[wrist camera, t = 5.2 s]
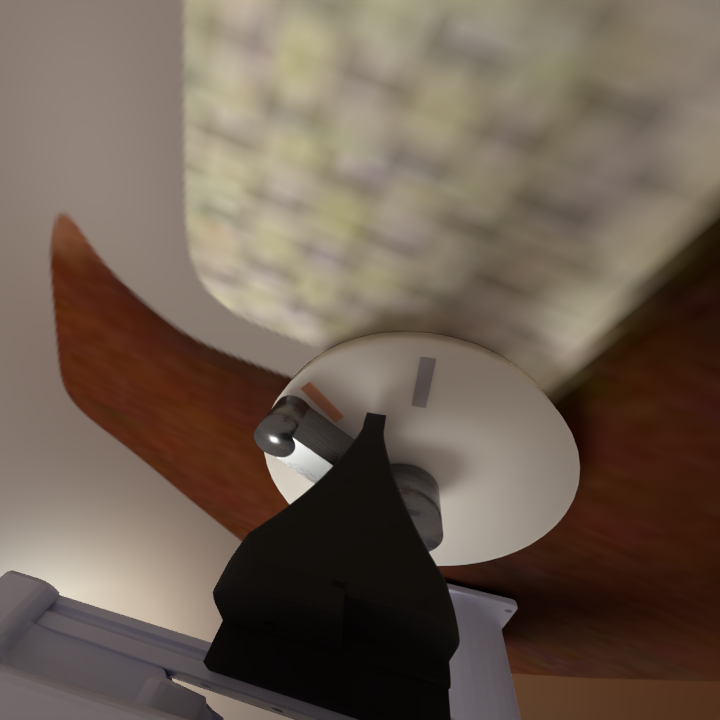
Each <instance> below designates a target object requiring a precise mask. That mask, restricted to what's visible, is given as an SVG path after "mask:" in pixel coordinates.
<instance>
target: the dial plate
mask: <svg viewBox="0 0 720 720" xmlns="http://www.w3.org/2000/svg"><path fill="white" fill-rule="evenodd" d="M287 395H292V396H297V397H299V398H301V399H303V400H304V401H305V402H306V403H307V404H308V405H309V406H310V407H311V408H312V409H314V410H315V411H316V412H318V413H319V414H320V415H322V416H323V417H325V418H326V419H327V420H329V421H330V422H331V423H333V424H334V425H335V426H337V427H338V428H340V429H341V430H342V431H344V432H345V433H346V434H348V435H349V436H350V437H352V438H353V439H356V437H357V436H358V434H359V433H360V431H361V430H362V428H363V423H364V420H365V417H366V414H367V412H369V413H375V414H381V415H386V421H385V428H384V440H385V445H386V449H387V454H388V458H389V461H390V464H395V463H403V464H410V465H413V466H417V467H419V468H421V469H423V470H425V471H427V472H428V473H429V474H431V475H432V476H433V477H434V479H435V480H436V481H437V484H438V486H439V494H440V505H441V515H442V526H443V540H442V542H441V544H440V545H439V546H438V547H437V548H436V549H434V550H432V551H430V552H429V553H430V555H431V557H432V558H433V560H434V562H435V563H436V565H437V566H453V565H465V564H472V563H478V562H484V561H488V560H492V559H496V558H500V557H503V556H505V555H508V554H511V553H514V552H516V551H518V550H520V549H522V548H524V547H526V546H528V545H530V544H532V543H533V542H535V541H537V540H538V539H540V538H541V537H543V536H544V535H545V534H546V533H548V532H549V531H550V530H551V529H552V528H553V527H554V526H556V524H557V523H558V522H559V521H560V520H561V518H562V517H563V516H564V515H565V514H566V512H567V510H568V509H569V507H570V505H571V503H572V502H573V500H574V497H575V494H576V491H577V488H578V485H579V475H580V463H579V454H578V449H577V446H576V443H575V440H574V438H573V435H572V433H571V431H570V429H569V427H568V426H567V424H566V422H565V421H564V419H563V417H562V416H561V414H560V413H559V412H558V410H557V409H556V408H555V406H554V405H553V404H552V403H551V401H550V400H549V399H548V397H547V396H546V395H545V394H544V392H543V391H542V390H541V389H540V388H539V387H538V385H537V384H536V383H535V382H534V381H533V380H532V379H531V378H530V377H529V376H528V375H526V374H525V373H524V372H523V371H522V370H521V369H519V368H518V367H517V366H516V365H514V364H513V363H511V362H509V361H508V360H506V359H505V358H503V357H501V356H500V355H498V354H496V353H494V352H492V351H490V350H488V349H485V348H483V347H481V346H479V345H477V344H474V343H470V342H467V341H464V340H461V339H457V338H454V337H450V336H444V335H439V334H433V333H424V332H406V331H403V332H388V333H379V334H374V335H368V336H363V337H359V338H356V339H353V340H350V341H347V342H344V343H341V344H339V345H337V346H335V347H333V348H331V349H329V350H327V351H325V352H323V353H321V354H320V355H318V356H317V357H316V358H314V359H313V360H311V361H310V362H309V363H307V364H306V365H305V366H304V367H303V368H302V369H301V370H300V371H299V372H298V373H297V374H296V375H295V377H294V378H293V379H292V380H291V382H290V383H289V384H288V385H287V387H286V388H285V389H284V391H283V392H282V393H281V395H280V396H279V397H278V399H277V400H276V401H275V403H274V405H275V404H276V403H277V401H278V400H279V399H280V398H281V397H283V396H287ZM274 405H273V406H274ZM272 408H273V407H272ZM265 458H266V462H267V466H268V469H269V471H270V474H271V476H272V478H273V480H274V482H275V484H276V486H277V487H278V489H279V491H280V492H281V494H282V495H283V496H284V498H285V499H286V500H287V502H288V503H289V504H291V503H293V502H294V501H295V500H296V499H298V498H299V497H300V496H302V495H303V494H304V493H305V492H306V491H307V490H309V489H310V488H311V487H312V486H313V485H314V483H313V482H311V481H310V480H308V479H307V478H305V477H304V476H302V475H301V474H300V473H298V472H297V471H295V470H294V469H292V468H291V467H289V466H288V465H286V464H285V463H283V462H282V461H280V460H279V459H277V458H276V457H274V456H272V455H270V454H268V453H266V452H265Z"/></svg>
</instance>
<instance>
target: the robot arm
mask: <svg viewBox="0 0 720 720" xmlns="http://www.w3.org/2000/svg"><path fill="white" fill-rule="evenodd" d="M385 421H386V415H381V414H375V413H369V412H367V414H366V417H365V420H364V423H363V428H362V430H361V431H360V433H359V434H358V436H357V437H356V439H355V440H354V441H353V443H352V444H351V446H350V447H349V448H348V449H347V450H346V452H345V453H344V454H343V455H342V456H341V458H340V459H339V460H338V461H337V462H336V463H335V464H334V466H333V467H332V468H331V469H330V470H329V471H328V472H327V473H326V474H325V475H324V476H323V477H322V478H321V479H320V480H318V481H317V482H316V483H315V484H314V485H313V486H312V487H311V488H310V489H309V490H307V491H306V492H305V493H304V494H303V495H302V496H300V497H299V498H298V499H296V500H295V501H294V502H293V503H291V504H290V505H289V506H287V507H286V508H285V509H284V510H282V511H281V512H279V513H278V514H277V515H275V516H274V517H272V518H271V519H269V520H268V521H266V522H265V523H263V524H262V525H260V526H259V527H257V528H256V529H254V530H253V531H251V532H250V533H249V534H248V535H247V536H246V537H245V539H244V540H243V542H242V543H241V545H240V546H239V547H238V549H237V550H236V552H235V553H234V555H233V556H232V557H231V559H230V561H229V562H228V564H227V566H226V568H225V570H224V572H223V574H222V575H221V577H220V579H219V581H218V583H217V585H216V586H215V588H214V591H213V596H214V600H215V604H216V606H217V608H218V610H219V612H220V615H221V617H222V619H223V622H222V624H221V626H220V628H219V630H218V632H217V634H216V636H215V638H214V640H213V642H212V643H210V642H207V641H204V640H201V639H198V638H194V637H191V636H188V635H185V634H181V633H178V632H175V631H172V630H169V629H166V628H162V627H159V626H156V625H153V624H150V623H146V622H143V621H140V620H137V619H134V618H130V617H127V616H124V615H120V614H117V613H114V612H111V611H108V610H105V609H101V608H98V607H95V606H92V605H89V604H86V603H82V602H79V601H76V600H73V599H70V598H66V597H63V596H60V595H59V592H58V591H57V590H56V589H55V588H54V587H53V586H52V585H50V584H49V583H47V582H46V581H43V580H41V579H38V578H35V577H32V576H29V575H25V574H22V573H19V572H16V571H9V572H7V573H5V574H4V575H3V576H2V577H1V578H0V720H223V717H221V716H220V715H219V714H217V713H216V712H215V711H213V710H212V709H211V708H210V707H209V705H208V704H207V703H206V698H205V697H204V696H202V695H200V694H198V693H196V692H194V691H192V690H189V689H188V688H186V687H183V686H181V685H179V684H177V683H175V682H173V681H172V678H174V679H177V680H180V681H183V682H186V683H189V684H192V685H195V686H197V687H200V688H203V689H207V690H209V691H212V692H215V693H218V694H221V695H224V696H227V697H230V698H233V699H236V700H239V701H241V702H244V703H248V704H250V705H253V706H256V707H259V708H262V709H265V710H268V711H271V712H274V713H277V714H280V715H283V716H285V717H288V718H292V719H294V720H521V719H520V714H519V709H518V704H517V699H516V695H515V691H514V685H513V681H512V676H511V672H510V667H509V662H508V658H507V653H506V648H505V644H504V639H503V634H502V628H503V627H504V626H505V625H506V623H507V622H508V621H509V619H510V618H511V617H512V615H513V614H514V613H515V612H516V610H517V609H518V607H517V603H516V601H515V600H513V599H510V598H506V597H502V596H498V595H494V594H490V593H485V592H481V591H477V590H473V589H469V588H465V587H461V586H456V585H452V584H448V583H446V580H445V578H444V577H443V575H442V573H441V572H440V570H439V568H438V567H437V565H436V563H435V562H434V560H433V558H432V557H431V555H430V553H429V551H428V550H427V548H426V546H425V544H424V542H423V540H422V538H421V537H420V535H419V533H418V531H417V529H416V527H415V525H414V522H413V520H412V518H411V516H410V514H409V512H408V510H407V508H406V506H405V503H404V501H403V498H402V496H401V494H400V491H399V488H398V486H397V483H396V480H395V477H394V474H393V471H392V468H391V465H390V461H389V458H388V454H387V449H386V445H385V440H384V428H385Z"/></svg>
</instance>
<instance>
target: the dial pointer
mask: <svg viewBox="0 0 720 720" xmlns="http://www.w3.org/2000/svg"><path fill="white" fill-rule="evenodd" d="M254 439H255V441H256V443H257V445H258V446H259V447H260V448H261V449H262V450H263V451H264V452H266V453H268V454H270V455H272V456H274V457H276V458H277V459H279V460H280V461H282V462H283V463H285V464H286V465H288V466H289V467H291V468H292V469H294V470H295V471H297V472H298V473H300V474H301V475H302V476H304V477H305V478H307V479H308V480H310V481H311V482H313V483H314V484H315V483H316V482H317V481H318V480H320V479H321V478H322V477H323V476H324V475H325V474H326V473H327V472H328V471H329V470H330V469H331V468H332V467H333V466H334V464H335V463H336V462H337V461H338V460H339V459H340V458H341V456H342V455H343V454H344V453H345V452H346V450H347V449H348V448H349V447H350V446H351V444H352V443H353V441H354V440H355V439H353V438H352V437H350V436H349V435H348V434H346V433H345V432H344V431H342V430H341V429H340V428H338V427H337V426H335V425H334V424H333V423H331V422H330V421H329V420H327V419H326V418H325V417H323V416H322V415H320V414H319V413H318V412H316V411H315V410H314V409H312V408H311V407H310V406H309V405H308V404H307V403H306V402H305V401H304V400H303V399H301V398H299V397H297V396H292V395H287V396H283V397H281V398H280V399H279V400H278V401H277V403H276V404H275V405H274V406H273V408H272V409H271V410H270V412H269V413H268V414H267V416H266V417H265V418H264V419H263V421H262V422H261V423H260V425H259V426H258V427H257V428H256V430H255V432H254ZM390 465H391V468H392V471H393V474H394V477H395V480H396V483H397V486H398V488H399V491H400V494H401V496H402V498H403V501H404V503H405V506H406V508H407V510H408V512H409V514H410V516H411V518H412V520H413V522H414V525H415V527H416V529H417V531H418V533H419V535H420V537H421V538H422V540H423V542H424V544H425V546H426V548H427V550H428V551H429V552H430V551H432V550H434V549H436V548H437V547H438V546H439V545H440V544H441V542H442V540H443V526H442V515H441V505H440V494H439V486H438V484H437V481H436V480H435V479H434V477H433V476H432V475H431V474H429V473H428V472H427V471H425V470H423V469H421V468H419V467H417V466H413V465H410V464H403V463H395V464H390Z"/></svg>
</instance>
